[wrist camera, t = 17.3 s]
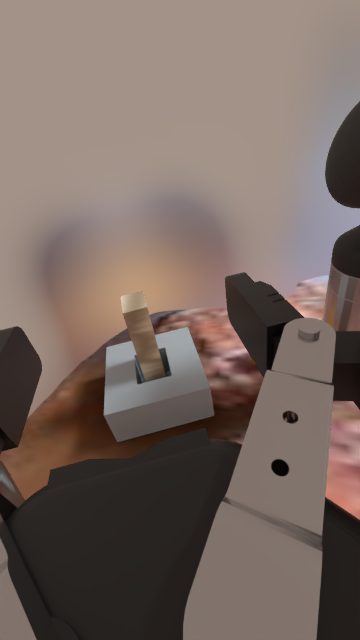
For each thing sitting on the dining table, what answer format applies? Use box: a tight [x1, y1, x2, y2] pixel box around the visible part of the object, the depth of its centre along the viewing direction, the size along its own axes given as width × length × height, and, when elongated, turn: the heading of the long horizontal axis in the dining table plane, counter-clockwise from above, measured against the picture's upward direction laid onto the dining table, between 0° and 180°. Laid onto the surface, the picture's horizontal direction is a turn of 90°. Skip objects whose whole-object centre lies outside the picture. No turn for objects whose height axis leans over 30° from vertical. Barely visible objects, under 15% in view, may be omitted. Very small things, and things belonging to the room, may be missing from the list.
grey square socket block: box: [104, 327, 214, 442], centre depth 43 cm, size 14×14×6 cm
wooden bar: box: [121, 291, 166, 382], centre depth 40 cm, size 3×4×16 cm
